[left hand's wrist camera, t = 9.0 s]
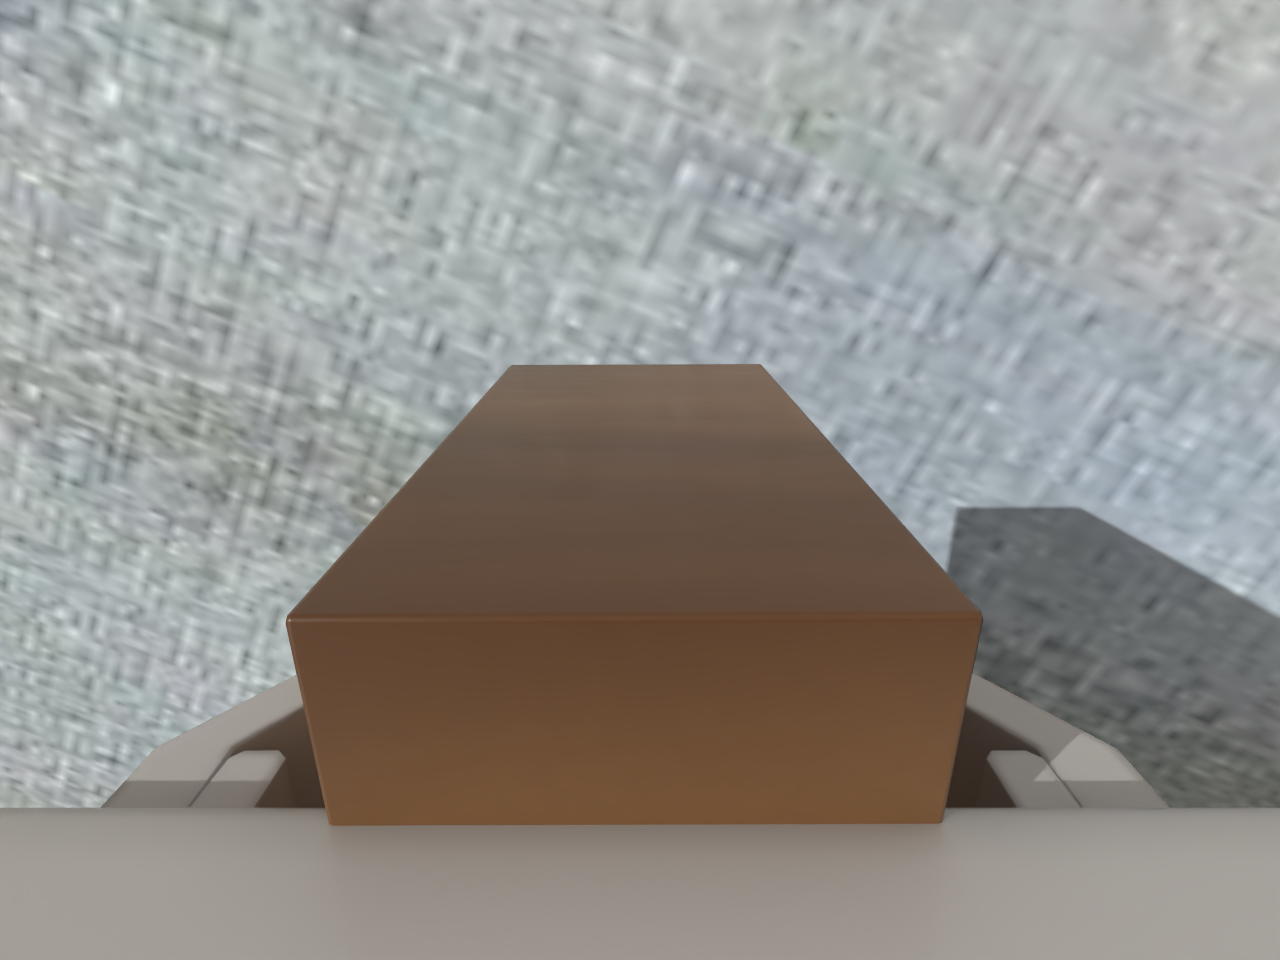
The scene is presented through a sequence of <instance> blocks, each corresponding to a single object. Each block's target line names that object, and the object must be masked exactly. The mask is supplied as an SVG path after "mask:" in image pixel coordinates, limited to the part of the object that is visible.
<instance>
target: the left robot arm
mask: <svg viewBox="0 0 1280 960" xmlns="http://www.w3.org/2000/svg"><path fill="white" fill-rule="evenodd" d="M0 960H1280V808H1170V807H1169V806H1168V805H1167V804H1166V803H1165V802H1164V800H1163V799H1162V798H1161V797H1160V796H1159V795H1158V794H1157V793H1156V791H1155V790H1154V789H1153V788H1152V787H1151V786H1150V785H1149V784H1148V783H1147V781H1146V780H1145V779H1144V778H1143V777H1142V776H1141V775H1140V774H1139V773H1138V771H1137V770H1136V769H1135V768H1134V767H1133V766H1132V765H1131V764H1130V763H1129V761H1128V760H1127V759H1126V758H1125V757H1124V756H1123V755H1122V754H1121V753H1120V751H1119V750H1118V749H1117V748H1115V747H1113V746H1111V745H1109V744H1107V743H1105V742H1103V741H1101V740H1099V739H1098V738H1096V737H1094V736H1092V735H1090V734H1088V733H1086V732H1084V731H1082V730H1080V729H1079V728H1077V727H1075V726H1073V725H1071V724H1069V723H1067V722H1065V721H1063V720H1061V719H1059V718H1058V717H1056V716H1054V715H1052V714H1050V713H1048V712H1046V711H1044V710H1042V709H1040V708H1039V707H1037V706H1035V705H1033V704H1031V703H1029V702H1027V701H1025V700H1023V699H1021V698H1020V697H1018V696H1016V695H1014V694H1012V693H1010V692H1008V691H1006V690H1004V689H1002V688H1000V687H999V686H997V685H995V684H993V683H991V682H989V681H987V680H985V679H983V678H981V677H980V676H978V675H976V674H974V673H972V678H971V682H970V687H969V692H968V697H967V702H966V707H965V712H964V717H963V722H962V727H961V732H960V737H959V742H958V747H957V752H956V757H955V762H954V767H953V772H952V777H951V782H950V787H949V792H948V796H947V801H946V806H945V811H944V816H943V821H942V823H939V824H720V825H395V826H332V825H330V824H329V823H328V818H327V813H326V809H325V804H324V799H323V795H322V790H321V785H320V781H319V776H318V771H317V767H316V762H315V757H314V753H313V748H312V743H311V739H310V734H309V729H308V725H307V720H306V715H305V711H304V706H303V701H302V697H301V692H300V687H299V683H298V678H297V675H295V676H293V677H291V678H289V679H287V680H286V681H284V682H282V683H280V684H278V685H276V686H274V687H272V688H270V689H268V690H266V691H264V692H262V693H260V694H259V695H257V696H255V697H253V698H251V699H249V700H247V701H245V702H243V703H241V704H239V705H237V706H235V707H233V708H232V709H230V710H228V711H226V712H224V713H222V714H220V715H218V716H216V717H214V718H212V719H210V720H208V721H207V722H205V723H203V724H201V725H199V726H197V727H195V728H193V729H191V730H189V731H187V732H185V733H183V734H181V735H180V736H178V737H176V738H174V739H172V740H170V741H168V742H166V743H164V744H162V745H160V746H158V747H156V748H155V749H154V750H153V751H152V753H151V754H150V755H149V756H148V757H147V758H146V759H145V760H144V761H143V762H142V763H141V764H140V766H139V767H138V768H137V769H136V770H135V771H134V772H133V773H132V774H131V775H130V776H129V777H128V779H127V780H126V781H125V782H124V783H123V784H122V785H121V786H120V787H119V788H118V789H117V791H116V792H115V793H114V794H113V795H112V796H111V797H110V798H109V799H108V800H107V801H106V802H105V804H104V805H103V806H102V807H101V808H0Z"/></svg>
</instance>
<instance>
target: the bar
mask: <svg viewBox="0 0 1280 960" xmlns="http://www.w3.org/2000/svg"><path fill="white" fill-rule="evenodd" d="M982 623H983V617H982V613H981V611H980V610H979V609H978V608H977V607H976V606H975V605H974V604H973V602H972V601H971V600H970V599H969V598H968V597H967V596H966V595H965V593H964V592H963V591H962V590H961V589H960V588H959V587H958V586H957V584H956V583H955V582H954V581H953V580H952V579H951V578H950V577H949V575H948V574H947V573H946V572H945V571H944V570H943V569H942V568H941V566H940V565H939V564H938V563H937V562H936V561H935V560H934V559H933V557H932V556H931V555H930V554H929V553H928V552H927V551H926V550H925V548H924V547H923V546H922V545H921V544H920V543H919V542H918V541H917V539H916V538H915V537H914V536H913V535H912V534H911V533H910V532H909V530H908V529H907V528H906V527H905V526H904V525H903V524H902V523H901V521H900V520H899V519H898V518H897V517H896V516H895V515H894V514H893V512H892V511H891V510H890V509H889V508H888V507H887V506H886V505H885V503H884V502H883V501H882V500H881V499H880V498H879V497H878V496H877V495H876V493H875V492H874V491H873V490H872V489H871V488H870V487H869V486H868V484H867V483H866V482H865V481H864V480H863V479H862V478H861V477H860V475H859V474H858V473H857V472H856V471H855V470H854V469H853V468H852V466H851V465H850V464H849V463H848V462H847V461H846V460H845V459H844V457H843V456H842V455H841V454H840V453H839V452H838V451H837V450H836V448H835V447H834V446H833V445H832V444H831V443H830V442H829V441H828V439H827V438H826V437H825V436H824V435H823V434H822V433H821V432H820V430H819V429H818V428H817V427H816V426H815V425H814V424H813V423H812V421H811V420H810V419H809V418H808V417H807V416H806V415H805V414H804V412H803V411H802V410H801V409H800V408H799V407H798V406H797V405H796V403H795V402H794V401H793V400H792V399H791V398H790V397H789V396H788V394H787V393H786V392H785V391H784V390H783V389H782V388H781V387H780V385H779V384H778V383H777V382H776V381H775V380H774V379H773V378H772V376H771V375H770V374H769V373H768V372H767V371H766V370H765V369H764V367H763V366H762V365H760V364H687V365H512V366H510V367H509V368H508V369H507V371H506V372H505V373H504V374H503V375H502V376H501V377H500V378H499V379H498V381H497V382H496V383H495V384H494V385H493V386H492V387H491V388H490V390H489V391H488V392H487V393H486V394H485V395H484V396H483V397H482V398H481V400H480V401H479V402H478V403H477V404H476V405H475V406H474V407H473V409H472V410H471V411H470V412H469V413H468V414H467V415H466V416H465V418H464V419H463V420H462V421H461V422H460V423H459V424H458V425H457V426H456V428H455V429H454V430H453V431H452V432H451V433H450V434H449V435H448V437H447V438H446V439H445V440H444V441H443V442H442V443H441V444H440V445H439V447H438V448H437V449H436V450H435V451H434V452H433V453H432V454H431V456H430V457H429V458H428V459H427V460H426V461H425V462H424V463H423V465H422V466H421V467H420V468H419V469H418V470H417V471H416V472H415V473H414V475H413V476H412V477H411V478H410V479H409V480H408V481H407V482H406V484H405V485H404V486H403V487H402V488H401V489H400V490H399V491H398V492H397V494H396V495H395V496H394V497H393V498H392V499H391V500H390V501H389V503H388V504H387V505H386V506H385V507H384V508H383V509H382V510H381V511H380V513H379V514H378V515H377V516H376V517H375V518H374V519H373V520H372V522H371V523H370V524H369V525H368V526H367V527H366V528H365V529H364V531H363V532H362V533H361V534H360V535H359V536H358V537H357V538H356V539H355V541H354V542H353V543H352V544H351V545H350V546H349V547H348V548H347V550H346V551H345V552H344V553H343V554H342V555H341V556H340V557H339V558H338V560H337V561H336V562H335V563H334V564H333V565H332V566H331V567H330V569H329V570H328V571H327V572H326V573H325V574H324V575H323V576H322V578H321V579H320V580H319V581H318V582H317V583H316V584H315V585H314V586H313V588H312V589H311V590H310V591H309V592H308V593H307V594H306V595H305V597H304V598H303V599H302V600H301V601H300V602H299V603H298V604H297V605H296V607H295V608H294V609H293V610H292V611H291V612H290V613H289V614H288V616H287V619H286V627H287V631H288V636H289V641H290V645H291V650H292V655H293V659H294V664H295V669H296V673H297V678H298V683H299V687H300V692H301V697H302V701H303V706H304V711H305V715H306V720H307V725H308V729H309V734H310V739H311V743H312V748H313V753H314V757H315V762H316V767H317V771H318V776H319V781H320V785H321V790H322V795H323V799H324V804H325V809H326V813H327V818H328V823H329V824H330V825H332V826H395V825H720V824H939V823H942V821H943V816H944V811H945V806H946V801H947V796H948V792H949V787H950V782H951V777H952V772H953V767H954V762H955V757H956V752H957V747H958V742H959V737H960V732H961V727H962V722H963V717H964V712H965V707H966V702H967V697H968V692H969V687H970V682H971V678H972V673H973V668H974V663H975V658H976V653H977V648H978V643H979V638H980V633H981V628H982Z"/></svg>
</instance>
